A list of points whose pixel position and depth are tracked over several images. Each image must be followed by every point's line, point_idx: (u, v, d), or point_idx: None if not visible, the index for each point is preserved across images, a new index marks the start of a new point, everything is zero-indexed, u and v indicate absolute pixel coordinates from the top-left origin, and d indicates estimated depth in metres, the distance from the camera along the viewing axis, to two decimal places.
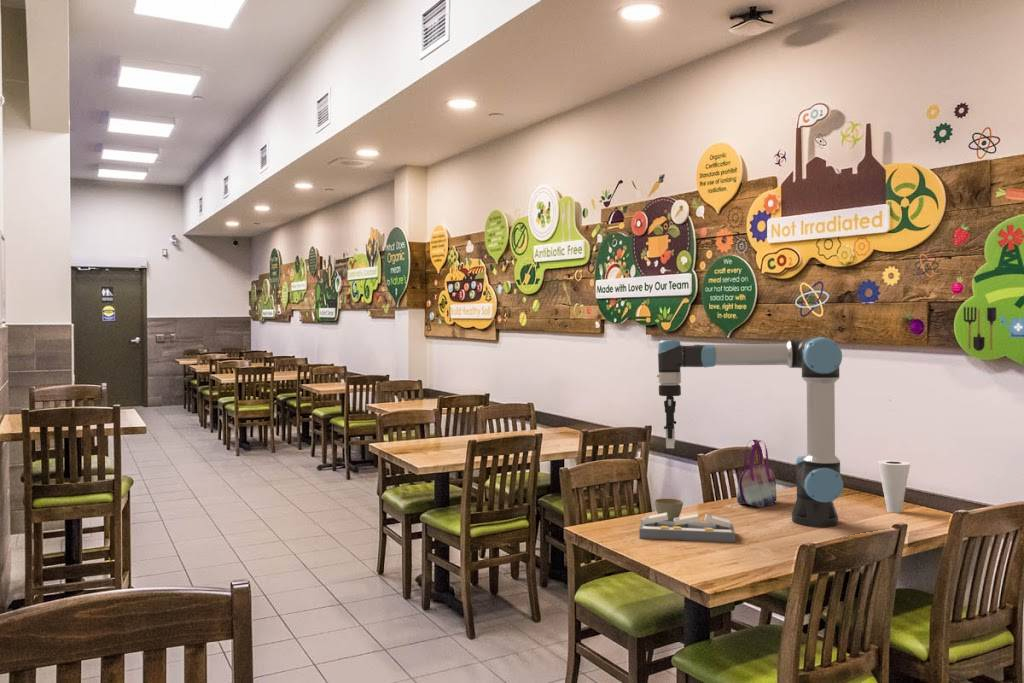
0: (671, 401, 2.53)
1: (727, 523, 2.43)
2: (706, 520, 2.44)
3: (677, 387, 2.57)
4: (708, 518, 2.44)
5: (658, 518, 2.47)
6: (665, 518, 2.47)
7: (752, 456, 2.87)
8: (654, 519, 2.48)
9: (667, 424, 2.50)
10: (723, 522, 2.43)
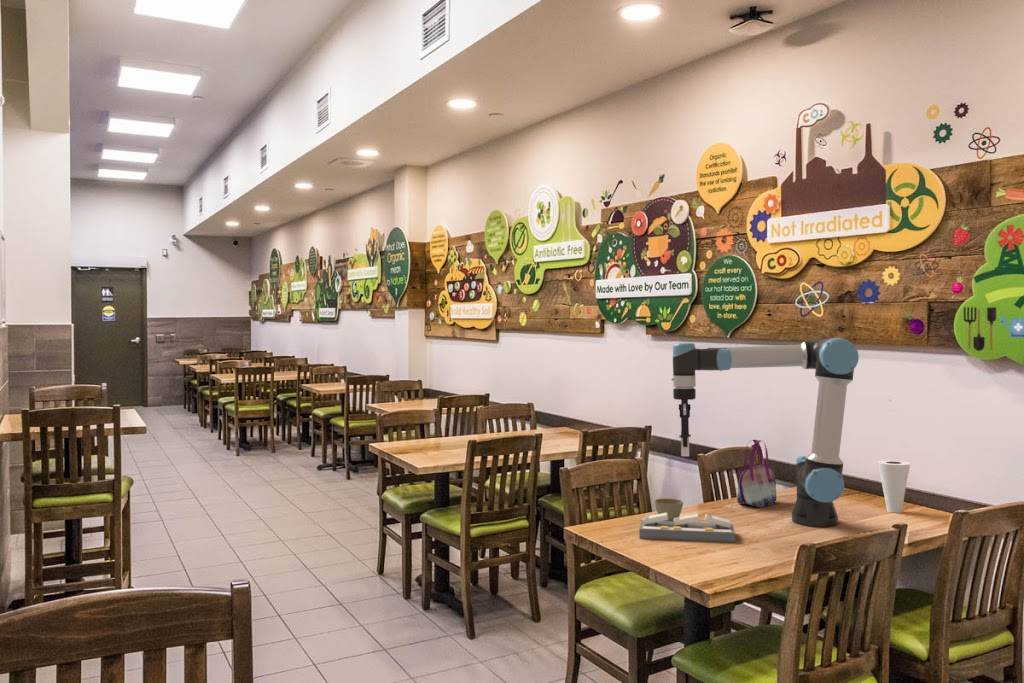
0: (686, 412, 2.52)
1: (727, 523, 2.43)
2: (706, 520, 2.44)
3: (692, 390, 2.55)
4: (708, 518, 2.44)
5: (658, 518, 2.47)
6: (665, 518, 2.47)
7: (752, 456, 2.87)
8: (654, 519, 2.48)
9: (682, 434, 2.55)
10: (723, 522, 2.43)
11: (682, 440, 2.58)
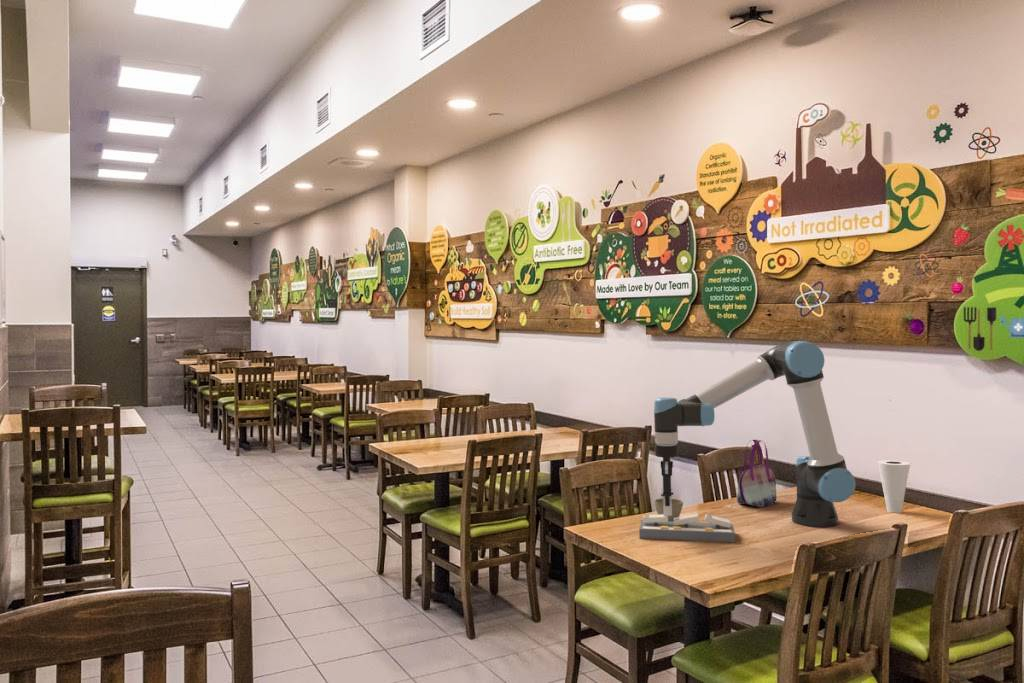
0: (668, 471, 2.43)
1: (727, 523, 2.43)
2: (706, 520, 2.44)
3: (674, 448, 2.46)
4: (708, 518, 2.44)
5: (658, 518, 2.47)
6: (665, 520, 2.47)
7: (752, 456, 2.87)
8: (654, 519, 2.48)
9: (664, 493, 2.45)
10: (723, 522, 2.43)
11: (664, 499, 2.48)
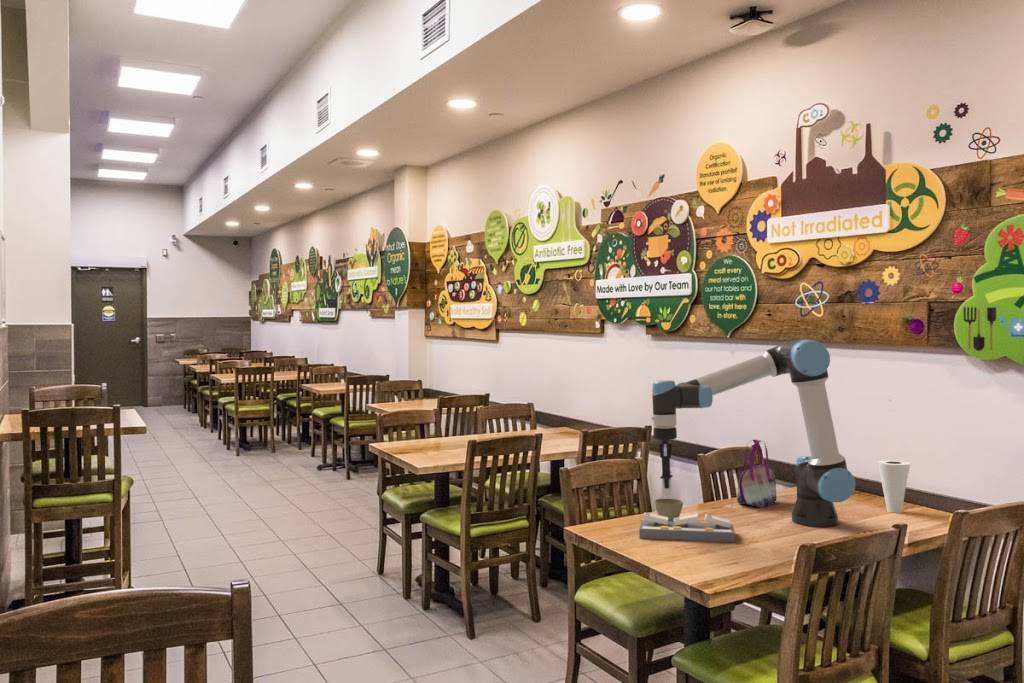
0: (667, 453, 2.43)
1: (727, 523, 2.43)
2: (706, 520, 2.44)
3: (673, 430, 2.46)
4: (708, 518, 2.44)
5: (658, 519, 2.47)
6: (665, 522, 2.47)
7: (752, 456, 2.87)
8: (654, 519, 2.48)
9: (663, 475, 2.45)
10: (723, 522, 2.43)
11: (663, 481, 2.48)
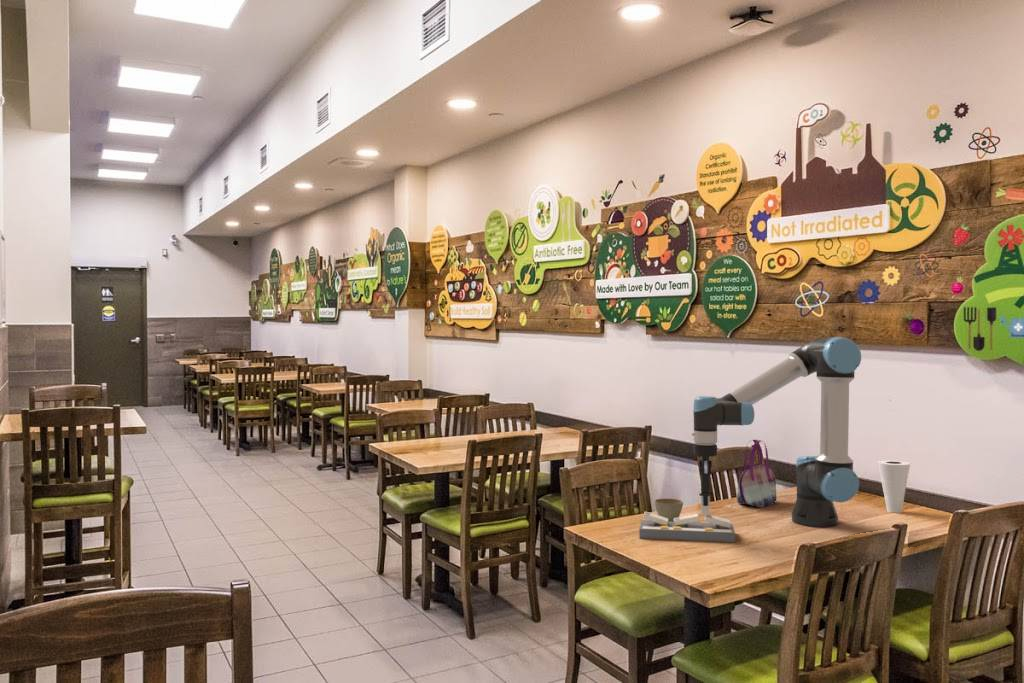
0: (707, 470, 2.40)
1: (727, 523, 2.43)
2: (706, 520, 2.44)
3: (714, 447, 2.43)
4: (708, 518, 2.44)
5: (658, 520, 2.47)
6: (665, 523, 2.47)
7: (752, 456, 2.87)
8: (654, 519, 2.48)
9: (703, 492, 2.42)
10: (723, 522, 2.43)
11: (702, 498, 2.45)
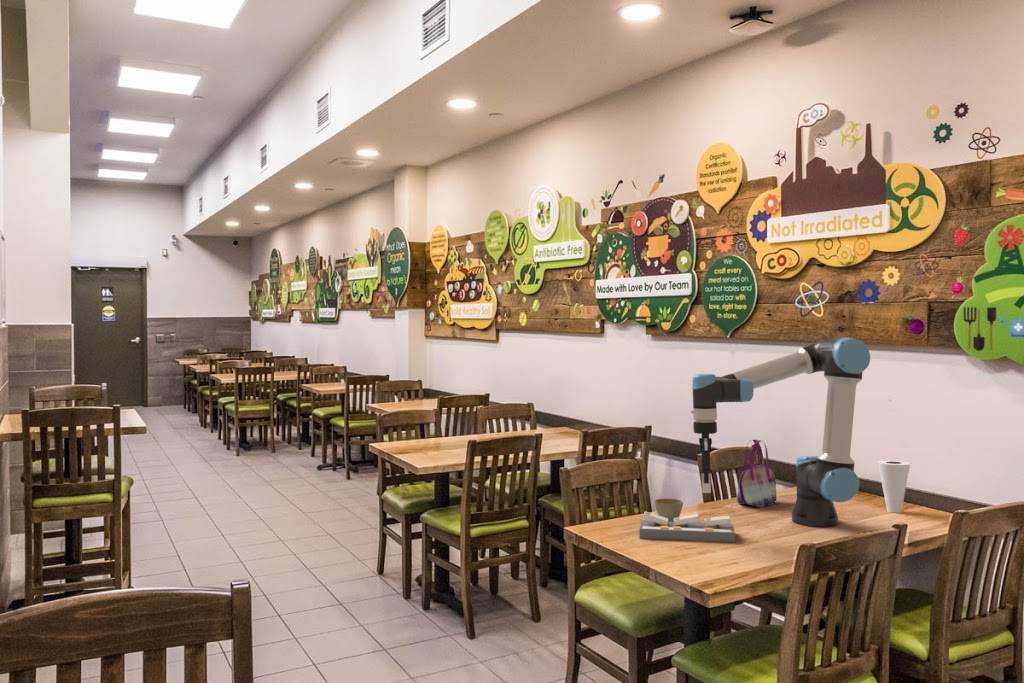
0: (708, 447, 2.40)
1: (727, 520, 2.43)
2: (706, 524, 2.44)
3: (713, 424, 2.43)
4: (707, 521, 2.44)
5: (658, 520, 2.47)
6: (665, 523, 2.47)
7: (752, 456, 2.87)
8: (654, 519, 2.48)
9: (703, 470, 2.42)
10: (723, 520, 2.43)
11: (703, 476, 2.45)
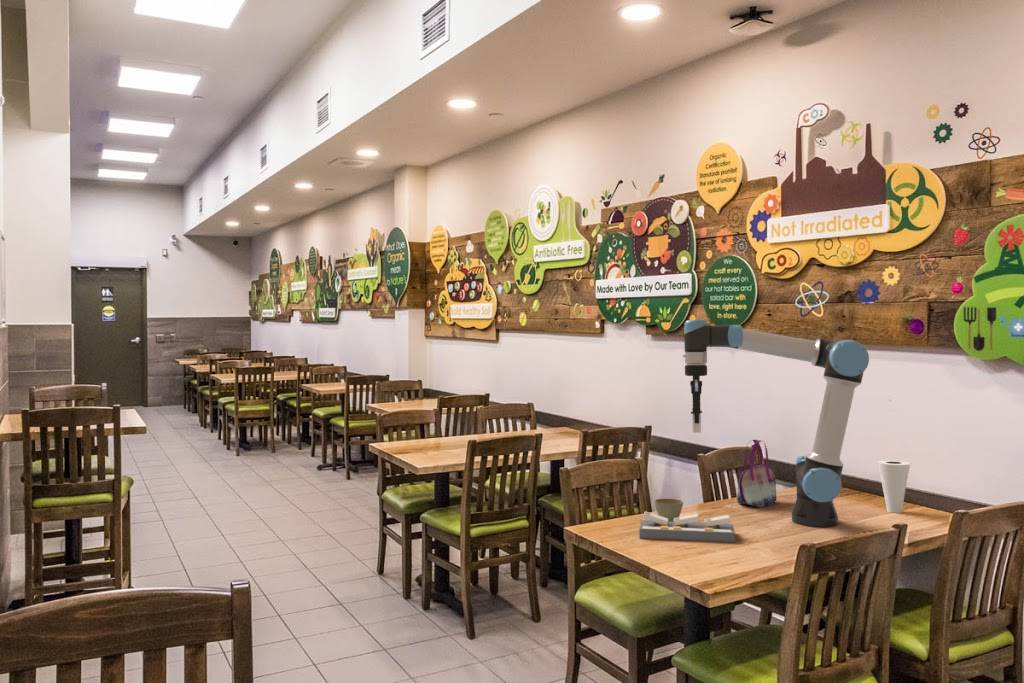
0: (698, 388, 2.53)
1: (726, 519, 2.43)
2: (707, 525, 2.44)
3: (704, 367, 2.56)
4: (707, 522, 2.44)
5: (658, 520, 2.47)
6: (665, 523, 2.47)
7: (752, 456, 2.87)
8: (654, 519, 2.48)
9: (694, 410, 2.56)
10: (722, 520, 2.43)
11: (694, 416, 2.58)
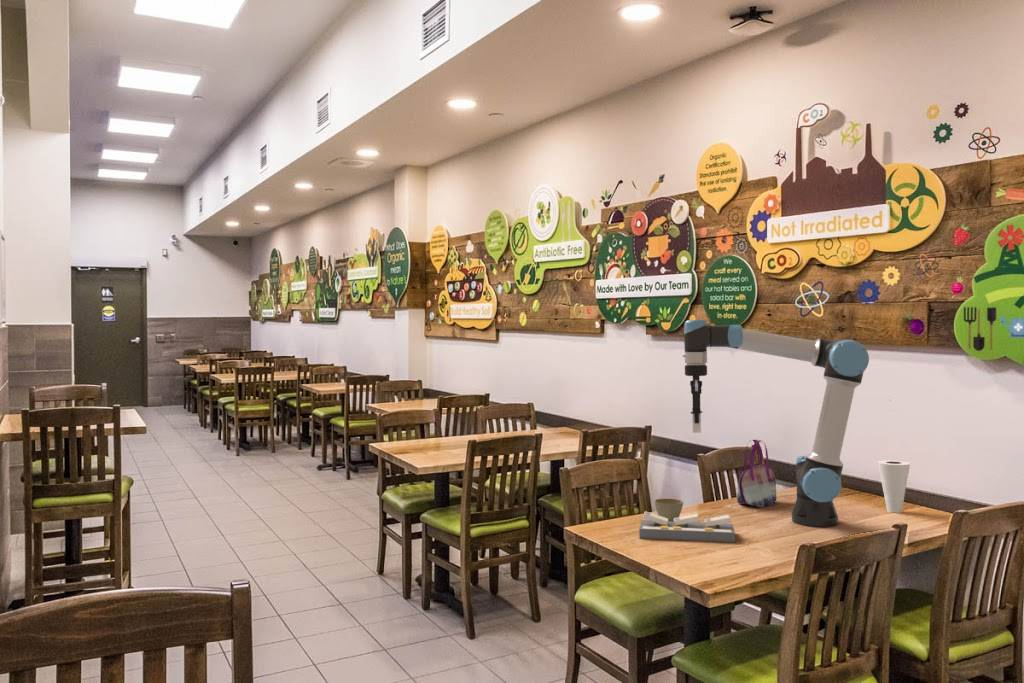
0: (698, 388, 2.53)
1: (726, 519, 2.43)
2: (707, 525, 2.44)
3: (703, 367, 2.56)
4: (707, 522, 2.44)
5: (658, 520, 2.47)
6: (665, 523, 2.47)
7: (752, 456, 2.87)
8: (654, 519, 2.48)
9: (694, 410, 2.56)
10: (722, 520, 2.43)
11: (694, 416, 2.59)
